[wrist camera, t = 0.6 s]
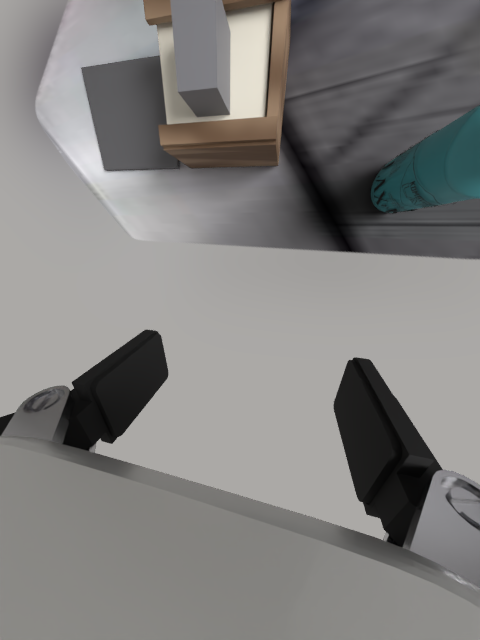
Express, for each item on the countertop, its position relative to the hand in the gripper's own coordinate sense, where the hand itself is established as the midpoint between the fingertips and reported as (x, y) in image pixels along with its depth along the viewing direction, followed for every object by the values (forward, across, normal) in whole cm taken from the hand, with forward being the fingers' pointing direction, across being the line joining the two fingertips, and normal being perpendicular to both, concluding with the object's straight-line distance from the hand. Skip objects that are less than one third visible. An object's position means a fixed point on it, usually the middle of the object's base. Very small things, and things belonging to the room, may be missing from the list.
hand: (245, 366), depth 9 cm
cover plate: (+22, +8, -21) cm, 32 cm away
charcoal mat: (+28, +24, -21) cm, 42 cm away
